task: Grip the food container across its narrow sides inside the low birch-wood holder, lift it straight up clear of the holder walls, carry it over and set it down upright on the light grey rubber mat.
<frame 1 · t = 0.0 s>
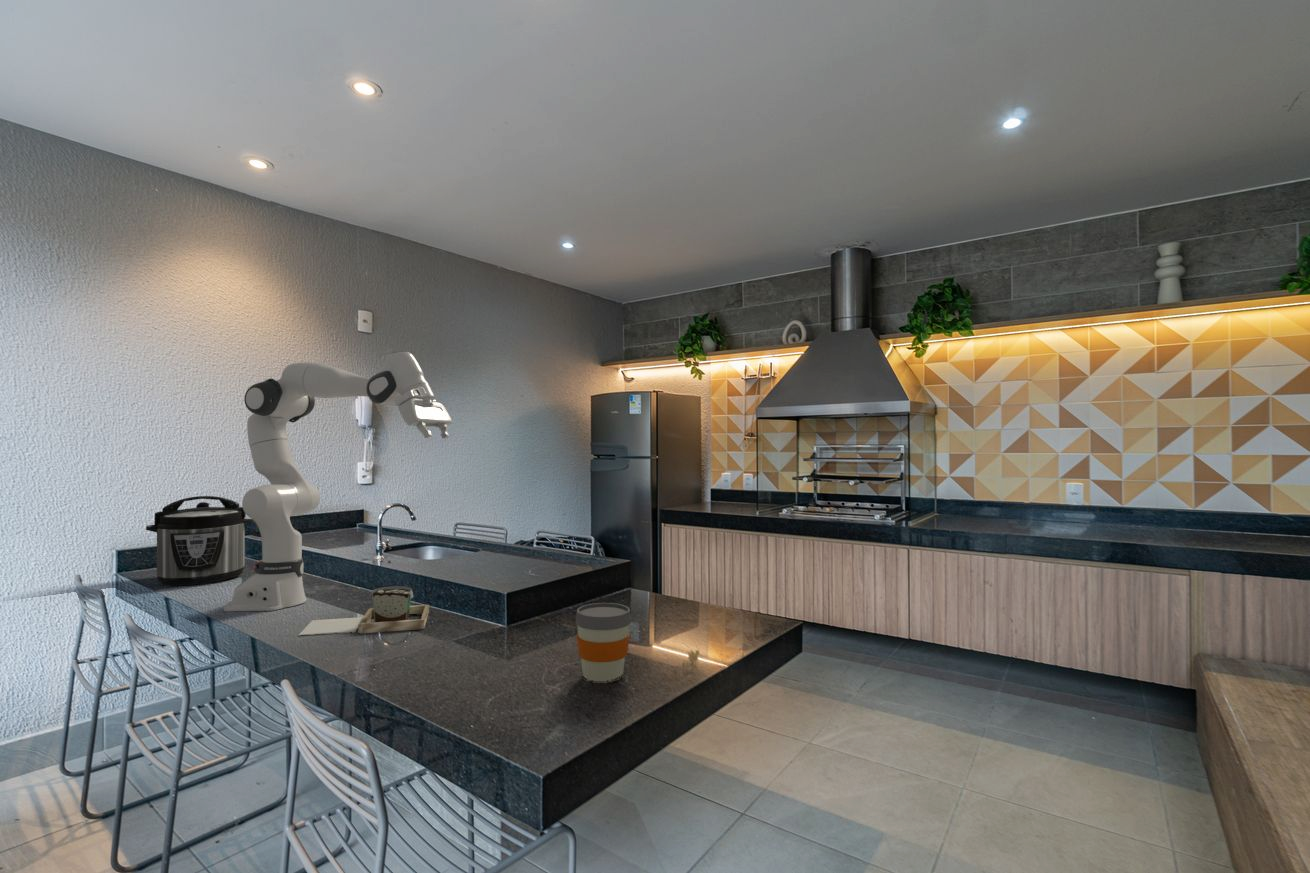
hand: (437, 437, 186), 54 cm above the table, tool tilted 30°, fingers open, 8 cm apart
pressure cooker: (201, 580, 231), on the table
food container: (395, 623, 177), resting in holder
reusable coffee cup: (602, 676, 137), on the table
mat: (333, 626, 172), on the table
holder: (395, 622, 177), on the table
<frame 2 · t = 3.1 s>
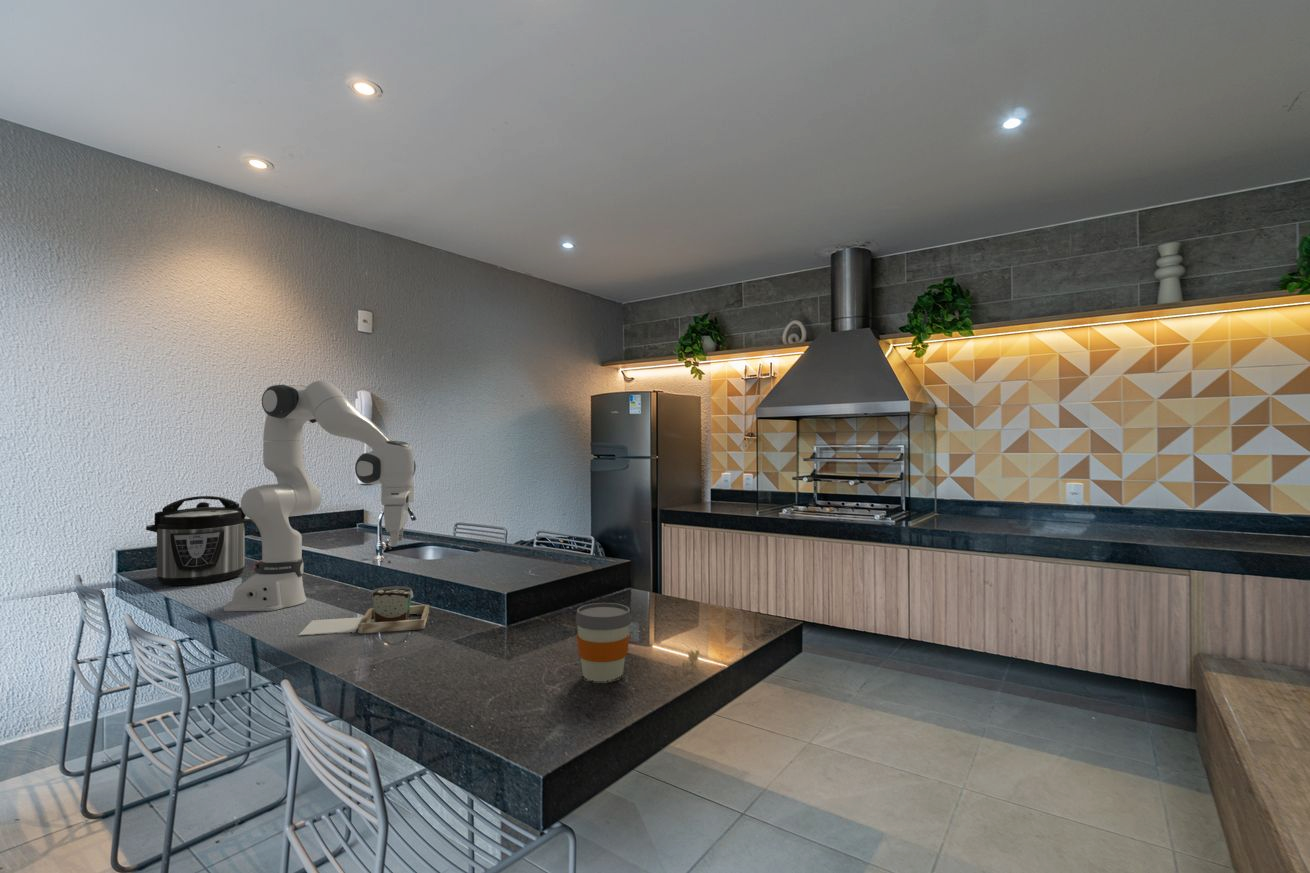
hand: (396, 543, 177), 23 cm above the table, tool pointing down, fingers open, 8 cm apart
nothing on the table moved.
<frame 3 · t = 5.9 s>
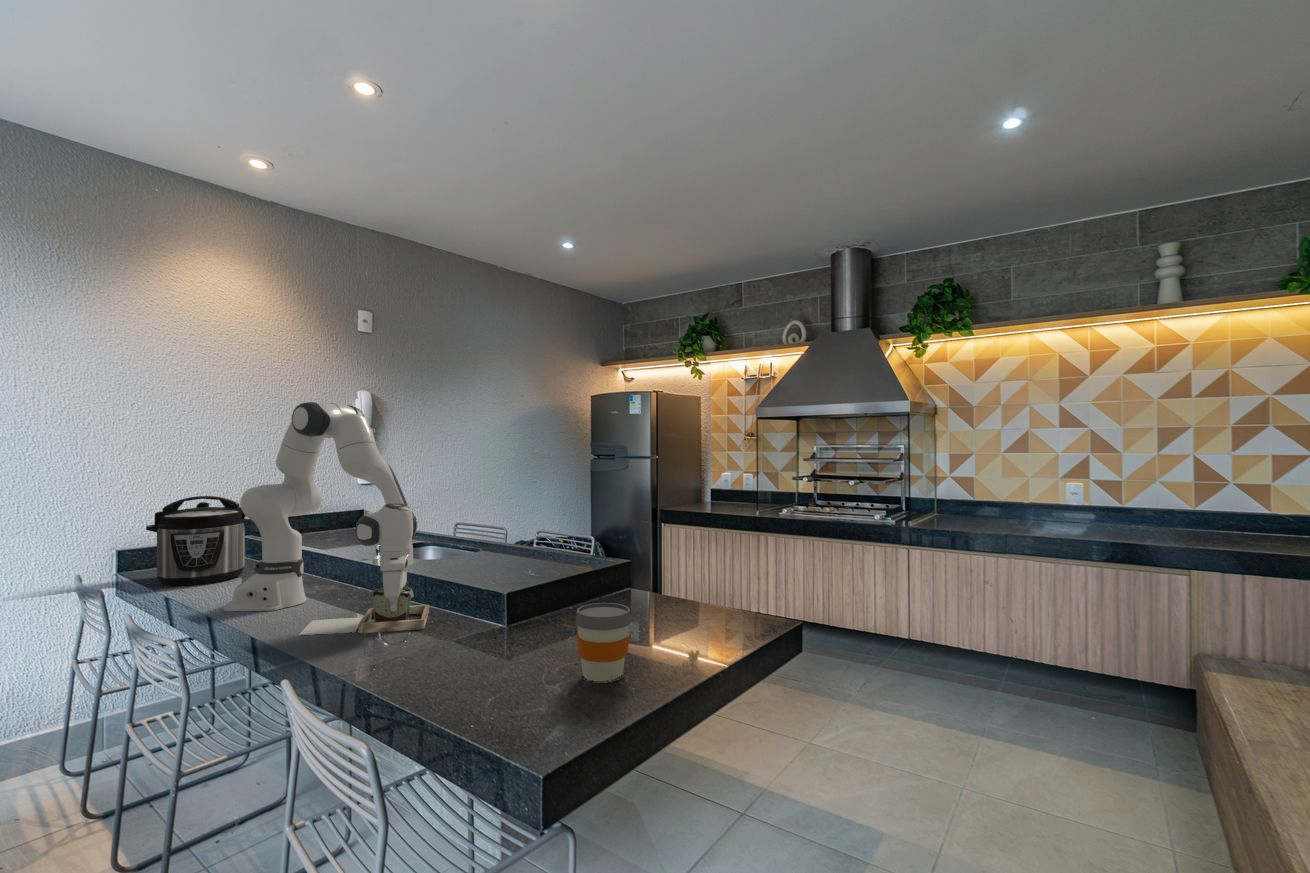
hand: (396, 606, 177), 5 cm above the table, tool pointing down, fingers open, 7 cm apart
food container: (395, 623, 177), resting in holder, touching gripper
everything else where it was.
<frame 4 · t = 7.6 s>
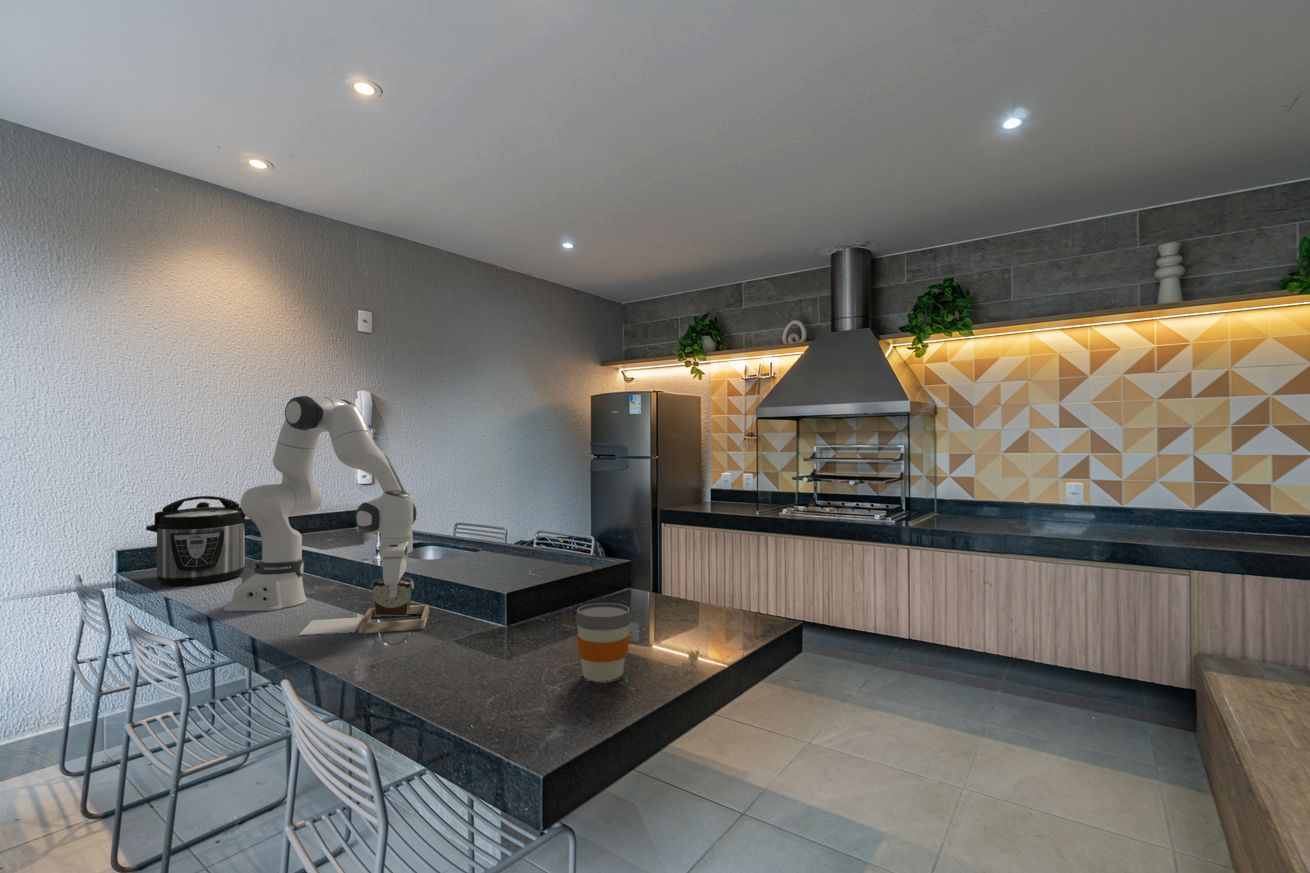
hand: (395, 593, 177), 8 cm above the table, tool pointing down, fingers closed on food container, 6 cm apart
food container: (396, 613, 178), point 2 cm above the table, touching gripper
everything else where it was.
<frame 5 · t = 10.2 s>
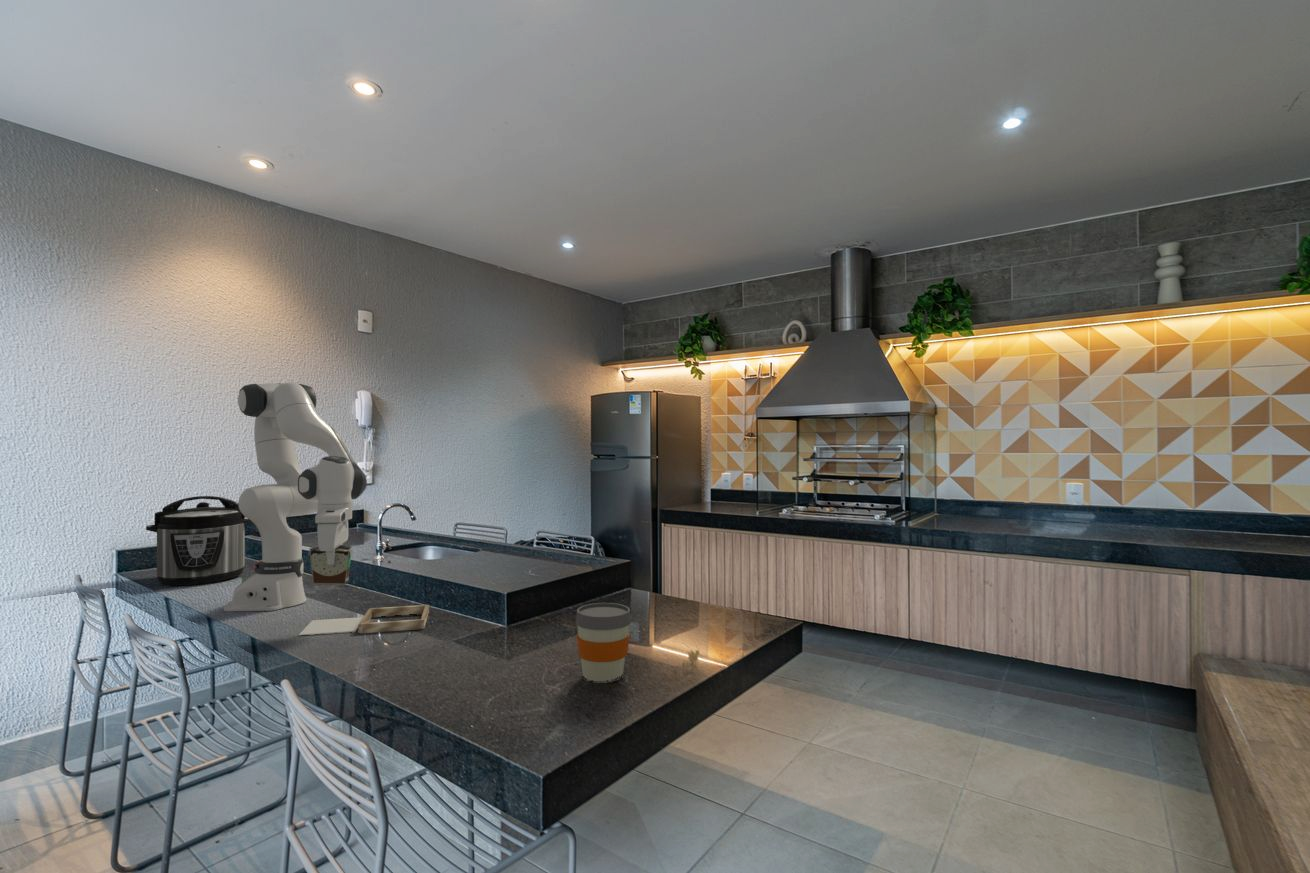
hand: (334, 561, 173), 18 cm above the table, tool pointing down, fingers closed on food container, 6 cm apart
food container: (335, 582, 173), point 13 cm above the table, touching gripper
everything else where it was.
when the fingers open (7 cm above the table, at t = 13.3 s): food container stays where it is, resting on mat.
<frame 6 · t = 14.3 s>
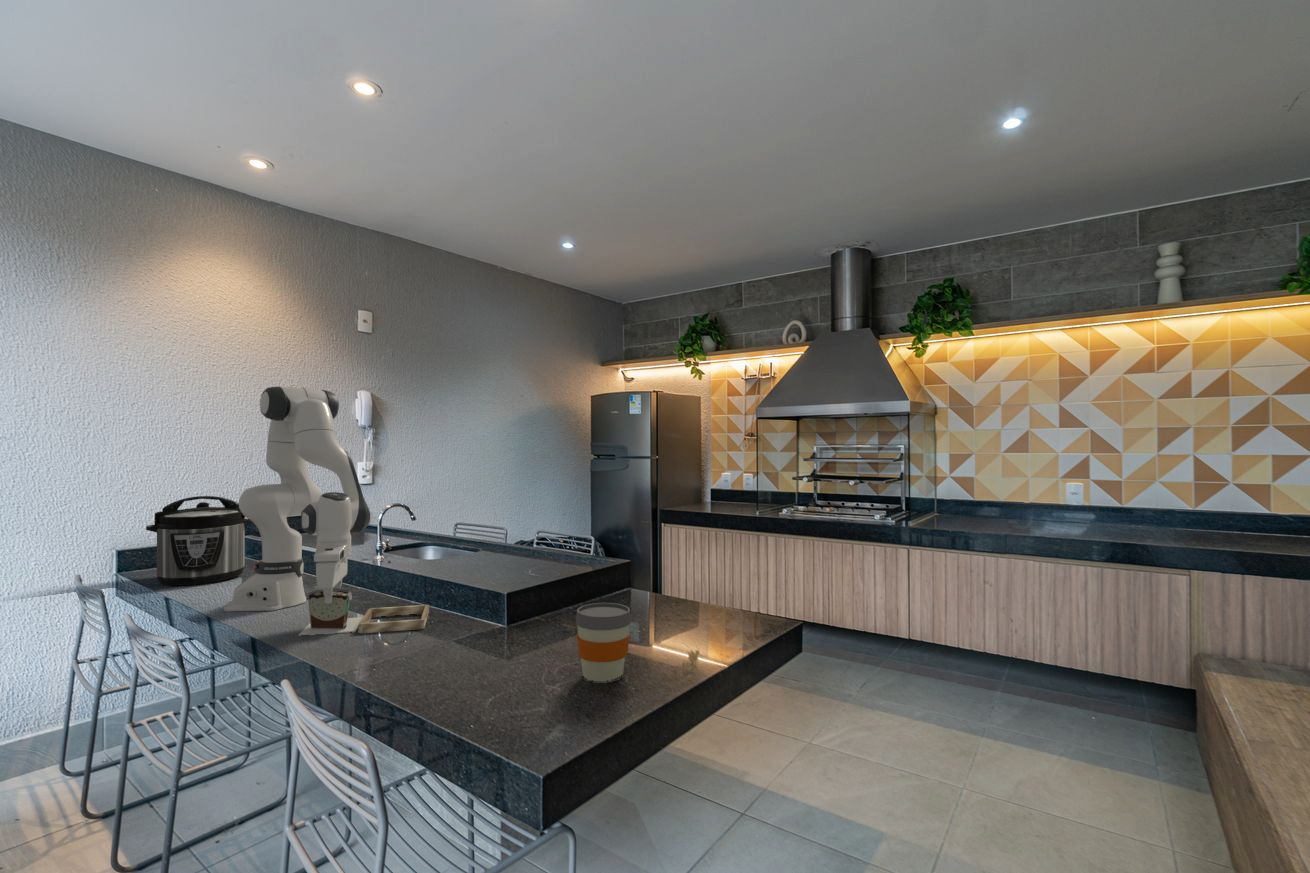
hand: (332, 598, 173), 8 cm above the table, tool pointing down, fingers open, 8 cm apart
food container: (333, 626, 172), resting on mat, touching gripper
everything else where it was.
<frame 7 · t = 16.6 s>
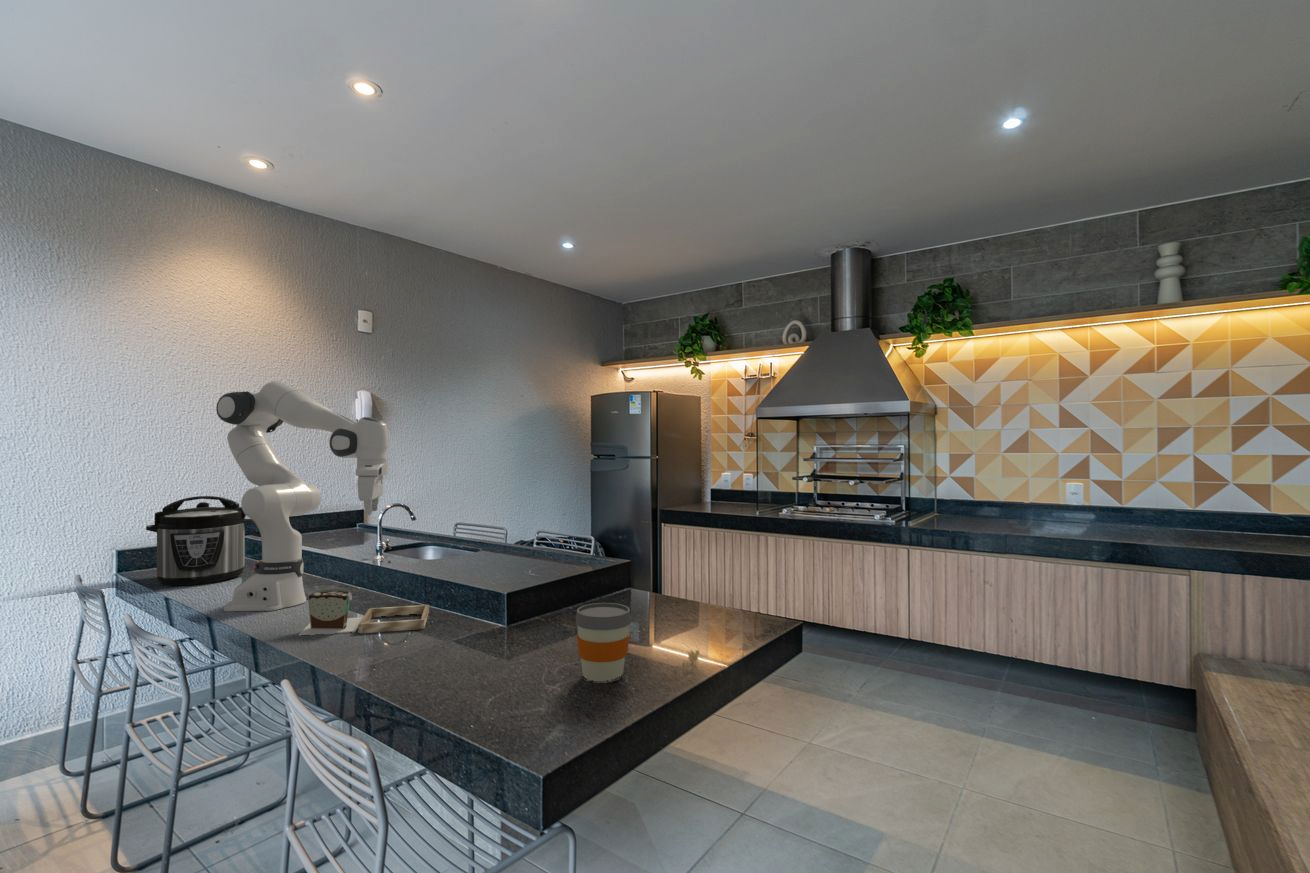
hand: (371, 512, 191), 31 cm above the table, tool pointing down, fingers open, 8 cm apart
food container: (333, 626, 172), resting on mat
everything else where it was.
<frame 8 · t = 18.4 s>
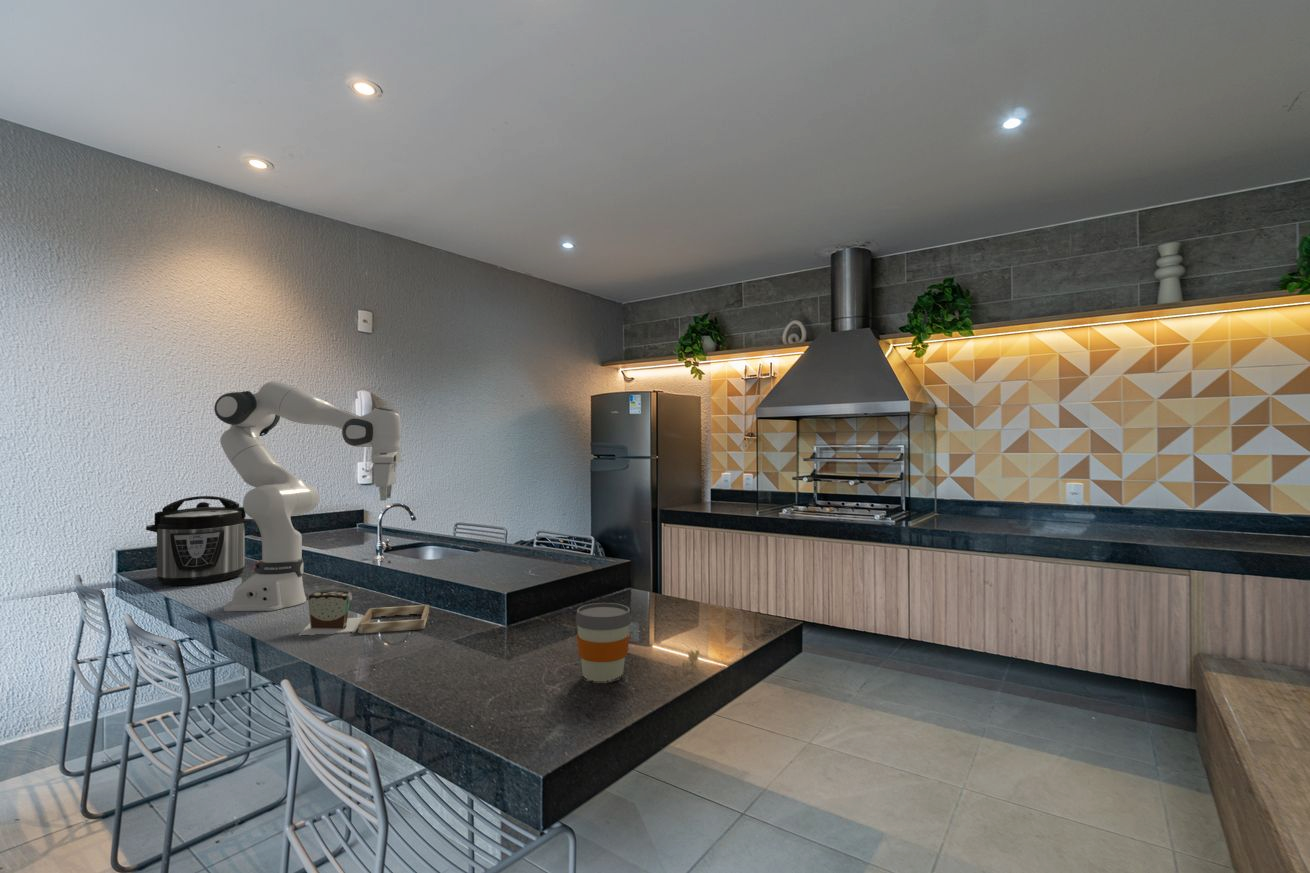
hand: (385, 499, 199), 34 cm above the table, tool pointing down, fingers open, 8 cm apart
nothing on the table moved.
at the end: food container inside the target area on the mat (0.5 cm from its centre), point 0.2 cm above the mat's base; food container tilted 0°; the gripper is holding nothing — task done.
